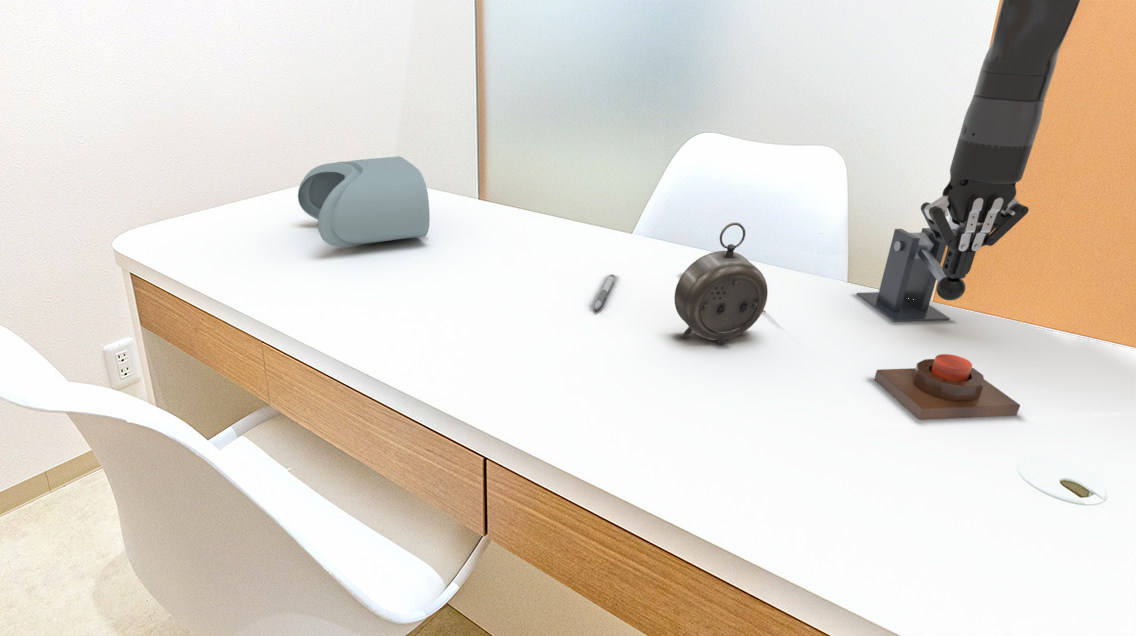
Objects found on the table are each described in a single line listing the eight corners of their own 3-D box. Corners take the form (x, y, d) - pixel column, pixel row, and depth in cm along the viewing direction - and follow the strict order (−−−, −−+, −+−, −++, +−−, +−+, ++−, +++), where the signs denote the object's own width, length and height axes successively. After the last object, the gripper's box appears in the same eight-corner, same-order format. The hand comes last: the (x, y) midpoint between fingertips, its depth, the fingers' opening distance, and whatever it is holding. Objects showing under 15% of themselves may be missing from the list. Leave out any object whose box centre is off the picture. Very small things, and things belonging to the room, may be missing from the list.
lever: (963, 305, 97) (975, 286, 94) (939, 306, 96) (951, 286, 94) (918, 248, 105) (929, 229, 103) (897, 249, 105) (906, 230, 102)
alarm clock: (744, 332, 101) (765, 214, 94) (764, 349, 96) (787, 227, 89) (667, 337, 99) (682, 218, 92) (683, 356, 95) (700, 231, 87)
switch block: (960, 382, 89) (970, 352, 87) (1014, 422, 81) (1026, 390, 79) (872, 385, 88) (880, 355, 86) (917, 426, 80) (927, 394, 78)
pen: (615, 281, 118) (616, 272, 117) (599, 315, 106) (599, 305, 105) (609, 280, 118) (609, 272, 117) (592, 314, 106) (592, 305, 106)
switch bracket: (947, 326, 103) (973, 244, 98) (892, 328, 102) (914, 245, 97) (906, 298, 112) (927, 221, 107) (855, 300, 111) (873, 222, 106)
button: (954, 367, 84) (958, 353, 84) (975, 382, 81) (980, 368, 80) (924, 368, 84) (928, 354, 83) (943, 383, 81) (948, 369, 80)
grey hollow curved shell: (431, 248, 132) (428, 175, 126) (322, 262, 125) (314, 185, 119) (396, 215, 150) (392, 150, 144) (300, 225, 143) (292, 157, 137)
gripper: (963, 144, 84) (922, 288, 92) (1073, 143, 85) (1023, 286, 93) (923, 132, 91) (888, 267, 98) (1025, 131, 92) (982, 265, 100)
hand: (953, 276), depth 96 cm, fingers closed
